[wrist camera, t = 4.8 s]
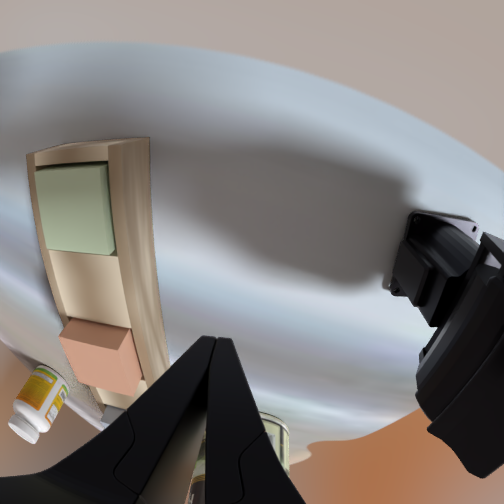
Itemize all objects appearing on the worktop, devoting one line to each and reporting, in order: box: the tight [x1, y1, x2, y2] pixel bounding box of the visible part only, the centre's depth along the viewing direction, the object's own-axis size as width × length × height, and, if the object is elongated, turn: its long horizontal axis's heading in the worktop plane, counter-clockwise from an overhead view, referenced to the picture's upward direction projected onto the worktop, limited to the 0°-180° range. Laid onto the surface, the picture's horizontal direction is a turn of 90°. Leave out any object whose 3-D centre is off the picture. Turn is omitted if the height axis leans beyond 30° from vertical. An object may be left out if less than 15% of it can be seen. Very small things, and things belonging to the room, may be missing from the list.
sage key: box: [34, 160, 117, 255], centre depth 17 cm, size 5×5×4 cm
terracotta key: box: [58, 317, 143, 397], centre depth 20 cm, size 5×5×4 cm
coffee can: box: [188, 412, 289, 504], centre depth 24 cm, size 10×10×14 cm
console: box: [26, 137, 170, 414], centre depth 22 cm, size 7×29×4 cm, turn 177°
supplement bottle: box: [8, 365, 69, 444], centre depth 25 cm, size 5×5×10 cm
